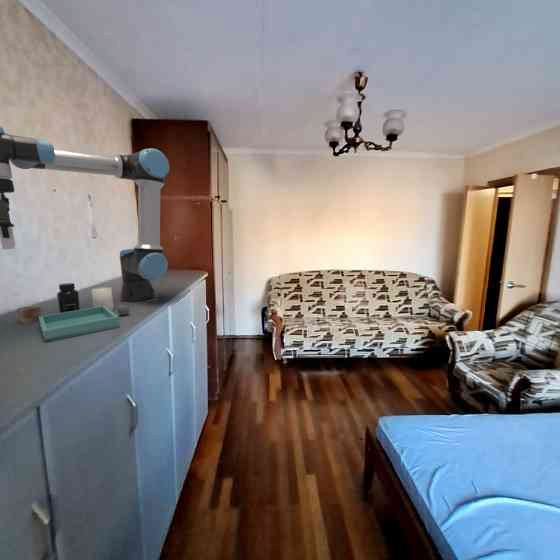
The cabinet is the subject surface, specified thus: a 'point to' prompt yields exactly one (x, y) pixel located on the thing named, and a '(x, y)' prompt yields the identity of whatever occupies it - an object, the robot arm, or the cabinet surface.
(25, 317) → the walnut block
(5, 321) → the cabinet surface
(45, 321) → the tray
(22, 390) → the cabinet surface
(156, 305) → the cabinet surface
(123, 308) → the grey egg
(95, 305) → the cream round piece
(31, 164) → the robot arm
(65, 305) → the supplement bottle
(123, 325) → the cabinet surface
